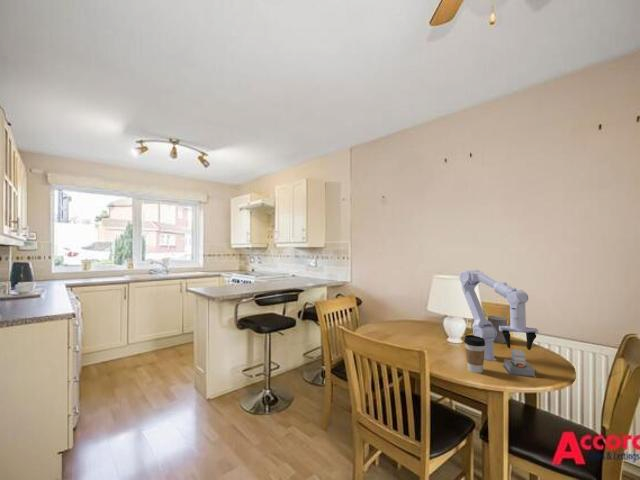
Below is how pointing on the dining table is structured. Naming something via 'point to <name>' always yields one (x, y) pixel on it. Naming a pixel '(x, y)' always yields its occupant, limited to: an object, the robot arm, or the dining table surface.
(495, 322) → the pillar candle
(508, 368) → the stand base
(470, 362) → the coffee cup
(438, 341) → the dining table surface
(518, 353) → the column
